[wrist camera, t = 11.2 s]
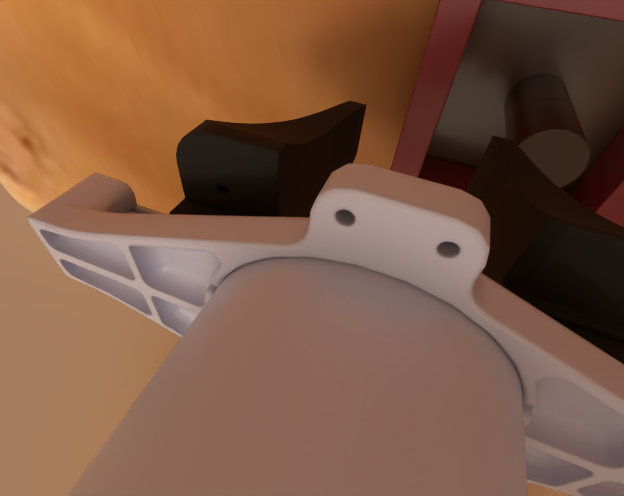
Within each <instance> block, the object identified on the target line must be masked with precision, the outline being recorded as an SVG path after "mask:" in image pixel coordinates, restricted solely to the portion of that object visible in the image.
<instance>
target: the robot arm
mask: <svg viewBox="0 0 624 496" xmlns="http://www.w3.org/2000/svg"><path fill="white" fill-rule="evenodd" d="M365 109H366V105H365V104H361V103H357V102H353V101H348V102H345V103H342V104H339V105H337V106H334V107H332V108H329V109H327V110H324V111H321V112H318V113H315V114H312V115H309V116H306V117H302V118H299V119H294V120H289V121H283V122H274V123H262V124H245V123H229V122H221V121H213V120H205V121H204V122H203V123H201V124H200V125H199V126H197V127H196V128H195V129H193V130H192V131H191V132H189V133H188V134H187V135H185V136H184V137H183V138H182V139H181V141H180V142H179V144H178V147H177V152H176V157H177V165H178V169H179V173H180V177H181V182H182V186H183V190H184V194H185V199H184V200H183V201H182V202H180V203H179V204H178V205H177V206H176V207H175V208H174V209H173V210H172V211H171V212H170V214H163V213H160V212H157V211H155V210H152V209H149V208H146V207H143V206H140V205H137V203H136V198H135V195H134V192H133V191H132V189H131V188H130V187H129V186H128V185H127V184H126V183H124V182H122V181H120V180H117V179H114V178H111V177H108V176H105V175H102V174H99V173H93V174H92V175H90V176H89V177H87V178H86V179H84V180H83V181H81V182H80V183H78V184H77V185H75V186H74V187H72V188H71V189H69V190H68V191H66V192H65V193H63V194H62V195H60V196H59V197H57V198H56V199H54V200H53V201H51V202H50V203H48V204H47V205H45V206H44V207H42V208H41V209H39V210H38V211H36V212H35V213H33V214H32V215H30V216H29V217H28V222H29V223H30V225H31V226H32V228H33V229H34V231H35V232H36V233H37V235H38V236H39V238H40V239H41V240H42V242H43V243H44V245H45V246H46V248H47V249H48V250H49V252H50V253H51V255H52V256H53V258H54V259H55V260H56V262H57V263H58V265H59V266H60V268H61V269H62V270H63V272H64V273H65V275H66V276H68V277H70V278H72V279H75V280H77V281H79V282H81V283H83V284H86V285H88V286H90V287H92V288H94V289H96V290H98V291H100V292H102V293H104V294H106V295H108V296H110V297H113V298H114V299H116V300H118V301H120V302H121V303H123V304H125V305H127V306H128V307H130V308H132V309H134V310H136V311H137V312H139V313H141V314H142V315H144V316H146V317H148V318H149V319H151V320H153V321H155V322H156V323H158V324H160V325H161V326H163V327H165V328H167V329H168V330H170V331H172V332H174V333H175V334H177V335H178V336H180V337H181V339H180V340H179V341H178V343H177V344H176V346H175V347H174V348H173V350H172V351H171V352H170V354H169V355H168V357H167V358H166V359H165V361H164V362H163V363H162V365H161V366H160V367H159V369H158V370H157V372H156V373H155V374H154V376H153V377H152V379H151V380H150V381H149V383H148V384H147V385H146V387H145V388H144V389H143V391H142V392H141V394H140V395H139V396H138V398H137V399H136V400H135V402H134V403H133V405H132V406H131V407H130V409H129V410H128V412H127V413H126V414H125V415H124V417H123V418H122V420H121V421H120V422H119V424H118V425H117V427H116V428H115V429H114V431H113V432H112V433H111V435H110V436H109V438H108V439H107V440H106V442H105V443H104V444H103V446H102V447H101V449H100V450H99V451H98V453H97V454H96V455H95V457H94V458H93V460H92V461H91V462H90V463H89V465H88V466H87V468H86V469H85V470H84V472H83V473H82V474H81V476H80V477H79V479H78V480H77V481H76V483H75V484H74V485H73V487H72V488H71V490H70V491H69V493H68V494H67V495H66V496H528V494H527V482H530V483H533V484H536V485H540V486H543V487H547V488H550V489H553V490H557V491H560V492H563V493H567V494H570V495H573V496H624V227H622V226H620V225H618V224H616V223H614V222H612V221H610V220H608V219H606V218H604V217H602V216H601V215H599V214H597V213H595V212H594V211H592V210H591V209H589V208H587V207H586V206H584V205H582V204H581V203H579V202H578V201H576V200H575V199H573V198H572V197H571V196H569V195H568V194H567V193H566V192H564V191H563V190H562V189H560V188H559V187H558V186H557V185H556V184H554V183H553V182H552V181H551V180H550V179H549V178H548V177H547V176H546V175H545V174H544V173H543V172H542V171H541V170H540V169H539V168H538V167H537V166H536V165H535V164H534V163H533V162H532V161H531V159H530V158H529V157H528V156H527V155H526V154H525V153H524V151H523V150H522V149H521V148H520V147H519V146H518V145H517V144H516V143H515V142H514V141H513V140H510V139H506V138H502V137H498V136H493V137H492V139H491V141H490V143H489V145H488V147H487V149H486V151H485V153H484V155H483V157H482V159H481V161H480V163H479V165H478V167H477V168H476V170H475V172H474V174H473V176H472V178H471V180H470V182H469V184H468V189H467V193H466V192H465V191H463V190H461V189H457V188H453V187H450V186H446V185H443V184H439V183H435V182H432V181H428V180H424V179H421V178H417V177H414V176H410V175H406V174H403V173H399V172H395V171H392V170H388V169H384V168H381V167H377V166H374V165H370V164H353V161H354V159H355V157H356V154H357V150H358V145H359V140H360V135H361V130H362V124H363V119H364V114H365Z"/></svg>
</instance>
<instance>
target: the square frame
mask: <svg viewBox="0 0 624 496" xmlns="http://www.w3.org/2000/svg"><path fill="white" fill-rule="evenodd" d="M482 1H483V0H439V3H438V7H437V10H436V14H435V17H434V21H433V24H432V28H431V31H430V35H429V38H428V42H427V45H426V48H425V52H424V55H423V59H422V62H421V66H420V69H419V73H418V76H417V80H416V83H415V87H414V90H413V94H412V97H411V100H410V104H409V107H408V111H407V114H406V118H405V121H404V125H403V128H402V132H401V135H400V139H399V142H398V146H397V149H396V153H395V156H394V159H393V163H392V166H391V170H392V171H395V172H399V173H403V174H406V175H410V176H414V177H417V178H421V179H424V180H428V181H432V182H435V183H439V184H443V185H446V186H450V187H453V188H457V189H461V190H463V191H465V192H466V193H467V189H468V184H469V182H470V180H471V178H472V176H473V174H474V172H475V170H476V168H472V167H468V166H464V165H460V164H456V163H452V162H449V161H445V160H441V159H437V158H433V157H429V156H426V155H427V152H428V149H429V146H430V144H431V141H432V138H433V135H434V133H435V130H436V127H437V124H438V122H439V119H440V116H441V113H442V111H443V108H444V105H445V102H446V100H447V97H448V94H449V91H450V89H451V86H452V83H453V80H454V78H455V75H456V72H457V69H458V67H459V64H460V61H461V58H462V56H463V53H464V50H465V47H466V45H467V42H468V39H469V36H470V34H471V31H472V28H473V26H474V23H475V20H476V17H477V15H478V12H479V9H480V6H481V4H482ZM494 1H500V2H506V3H513V4H519V5H525V6H531V7H537V8H543V9H549V10H555V11H561V12H567V13H573V14H579V15H585V16H591V17H597V18H603V19H609V20H615V21H621V22H624V0H494ZM564 192H565V191H564ZM566 193H567V194H568V195H569V196H571V197H572V198H573V199H575V200H576V201H578V202H579V203H581V204H582V205H584V206H586V207H587V208H589V209H591V210H592V211H594V212H595V213H597V214H599V215H601V216H602V217H604V218H606V219H608V220H610V221H612V222H614V223H616V224H618V225H620V226H622V227H624V126H623V128H622V129H621V130H620V131H619V133H618V134H617V135H616V137H615V138H614V139H613V140H612V142H611V143H610V144H609V145H608V147H607V148H606V149H605V151H604V152H603V153H602V154H601V156H600V157H599V158H598V160H597V161H596V162H595V163H594V165H593V166H592V167H591V168H590V170H589V171H588V172H587V174H586V175H585V176H584V177H583V179H582V180H581V181H580V183H579V184H578V185H577V186H576V188H575V189H574V190H573V191H572V193H571V194H570V193H569V192H566Z"/></svg>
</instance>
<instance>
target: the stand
mask: <svg viewBox="0 0 624 496" xmlns="http://www.w3.org/2000/svg"><path fill="white" fill-rule="evenodd" d="M623 126H624V22H621V21H615V20H609V19H603V18H597V17H591V16H585V15H579V14H573V13H567V12H561V11H555V10H549V9H543V8H537V7H531V6H525V5H519V4H513V3H506V2H500V1H494V0H483V1H482V4H481V6H480V9H479V12H478V15H477V17H476V20H475V23H474V26H473V28H472V31H471V34H470V36H469V39H468V42H467V45H466V47H465V50H464V53H463V56H462V58H461V61H460V64H459V67H458V69H457V72H456V75H455V78H454V80H453V83H452V86H451V89H450V91H449V94H448V97H447V100H446V102H445V105H444V108H443V111H442V113H441V116H440V119H439V122H438V124H437V127H436V130H435V133H434V135H433V138H432V141H431V144H430V146H429V149H428V152H427V155H426V156H429V157H433V158H437V159H441V160H445V161H449V162H452V163H456V164H460V165H464V166H468V167H472V168H477V167H478V165H479V163H480V161H481V159H482V157H483V155H484V153H485V151H486V149H487V147H488V145H489V143H490V141H491V139H492V137H493V136H498V137H502V138H506V139H510V140H513V141H514V142H515V143H516V144H517V145H518V146H519V147H520V148H521V149H522V150H523V151H524V153H525V154H526V155H527V156H528V157H529V158H530V159H531V161H532V162H533V163H534V164H535V165H536V166H537V167H538V168H539V169H540V170H541V171H542V172H543V173H544V174H545V175H546V176H547V177H548V178H549V179H550V180H551V181H552V182H553V183H554V184H556V185H557V186H558V187H559V188H560V189H562V190H563V191H565V192H569V193H570V194H571V193H572V191H573V190H574V189H575V188H576V186H577V185H578V184H579V183H580V181H581V180H582V179H583V177H584V176H585V175H586V174H587V172H588V171H589V170H590V168H591V167H592V166H593V165H594V163H595V162H596V161H597V160H598V158H599V157H600V156H601V154H602V153H603V152H604V151H605V149H606V148H607V147H608V145H609V144H610V143H611V142H612V140H613V139H614V138H615V137H616V135H617V134H618V133H619V131H620V130H621V129H622V128H623Z"/></svg>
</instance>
